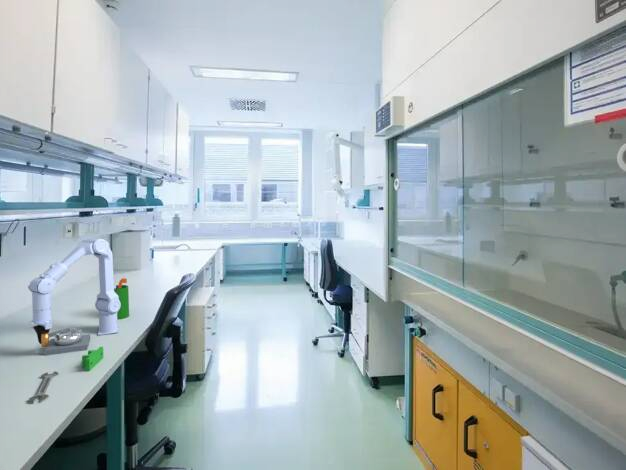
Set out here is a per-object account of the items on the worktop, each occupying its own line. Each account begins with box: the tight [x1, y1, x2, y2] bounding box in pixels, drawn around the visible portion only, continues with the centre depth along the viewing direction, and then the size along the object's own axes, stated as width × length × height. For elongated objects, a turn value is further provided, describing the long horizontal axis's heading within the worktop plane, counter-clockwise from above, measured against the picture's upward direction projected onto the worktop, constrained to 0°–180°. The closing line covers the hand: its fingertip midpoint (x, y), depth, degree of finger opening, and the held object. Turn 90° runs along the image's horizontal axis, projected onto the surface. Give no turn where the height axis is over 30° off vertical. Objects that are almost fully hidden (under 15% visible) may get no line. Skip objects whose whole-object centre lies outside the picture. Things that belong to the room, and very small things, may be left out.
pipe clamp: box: [81, 346, 104, 372], centre depth 129 cm, size 11×4×5 cm, turn 9°
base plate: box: [43, 333, 91, 357], centre depth 144 cm, size 13×14×2 cm
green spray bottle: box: [114, 277, 130, 320], centre depth 184 cm, size 10×9×20 cm
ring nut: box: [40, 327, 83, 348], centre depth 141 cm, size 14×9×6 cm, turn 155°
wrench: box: [28, 370, 59, 405], centre depth 112 cm, size 5×20×1 cm, turn 27°
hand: (43, 342), depth 137 cm, fingers closed
